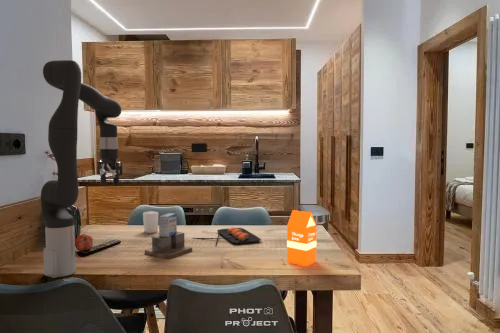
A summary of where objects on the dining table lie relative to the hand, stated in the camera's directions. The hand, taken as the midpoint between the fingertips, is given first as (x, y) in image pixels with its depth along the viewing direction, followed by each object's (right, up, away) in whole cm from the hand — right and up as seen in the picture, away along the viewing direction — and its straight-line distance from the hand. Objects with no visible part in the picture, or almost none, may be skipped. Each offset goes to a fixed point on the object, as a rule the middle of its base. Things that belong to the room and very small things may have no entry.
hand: (109, 185), depth 167 cm
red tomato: (-11, -29, -1) cm, 31 cm away
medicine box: (+26, -21, -4) cm, 34 cm away
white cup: (+9, -26, +35) cm, 45 cm away
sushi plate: (+48, -28, +20) cm, 59 cm away
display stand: (+26, -28, -4) cm, 39 cm away
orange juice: (+81, -29, -17) cm, 88 cm away
